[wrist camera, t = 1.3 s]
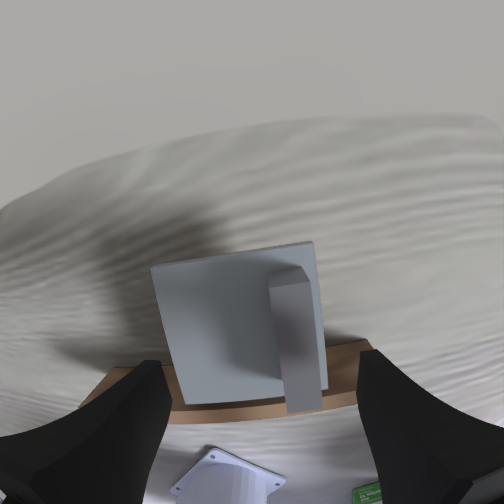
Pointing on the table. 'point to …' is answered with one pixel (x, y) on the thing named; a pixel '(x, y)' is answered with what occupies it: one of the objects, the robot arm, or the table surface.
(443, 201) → the table surface
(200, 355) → the slate cover
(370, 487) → the ink box
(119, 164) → the table surface
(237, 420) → the walnut track wall
